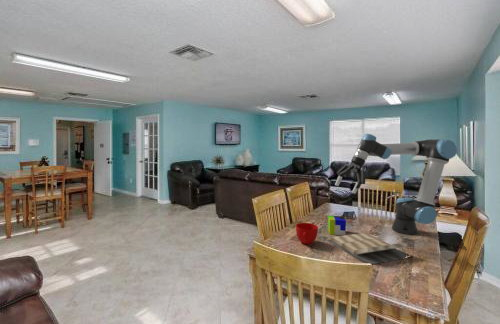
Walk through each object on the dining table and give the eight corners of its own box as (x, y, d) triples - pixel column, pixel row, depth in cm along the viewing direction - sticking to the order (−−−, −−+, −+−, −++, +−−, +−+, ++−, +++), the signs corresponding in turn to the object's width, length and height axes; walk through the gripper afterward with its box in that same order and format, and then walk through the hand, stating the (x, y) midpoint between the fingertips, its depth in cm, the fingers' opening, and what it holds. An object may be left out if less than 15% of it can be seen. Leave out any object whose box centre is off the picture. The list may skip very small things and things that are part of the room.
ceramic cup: (292, 247, 146) (292, 230, 146) (297, 237, 162) (298, 221, 161) (315, 250, 142) (315, 233, 141) (318, 240, 158) (319, 224, 157)
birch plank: (393, 248, 144) (392, 245, 145) (407, 246, 136) (406, 242, 136) (355, 254, 136) (354, 250, 137) (368, 252, 127) (367, 247, 128)
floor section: (366, 235, 166) (366, 232, 166) (412, 257, 135) (413, 253, 135) (327, 240, 157) (327, 236, 157) (367, 265, 126) (367, 260, 125)
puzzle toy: (345, 235, 166) (345, 220, 165) (329, 234, 168) (329, 219, 167) (342, 230, 176) (343, 216, 175) (327, 229, 178) (328, 215, 177)
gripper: (340, 151, 165) (326, 181, 166) (374, 160, 144) (357, 194, 144) (347, 155, 169) (333, 184, 170) (381, 165, 148) (365, 198, 148)
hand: (344, 189), depth 157 cm, fingers open, 13 cm apart
